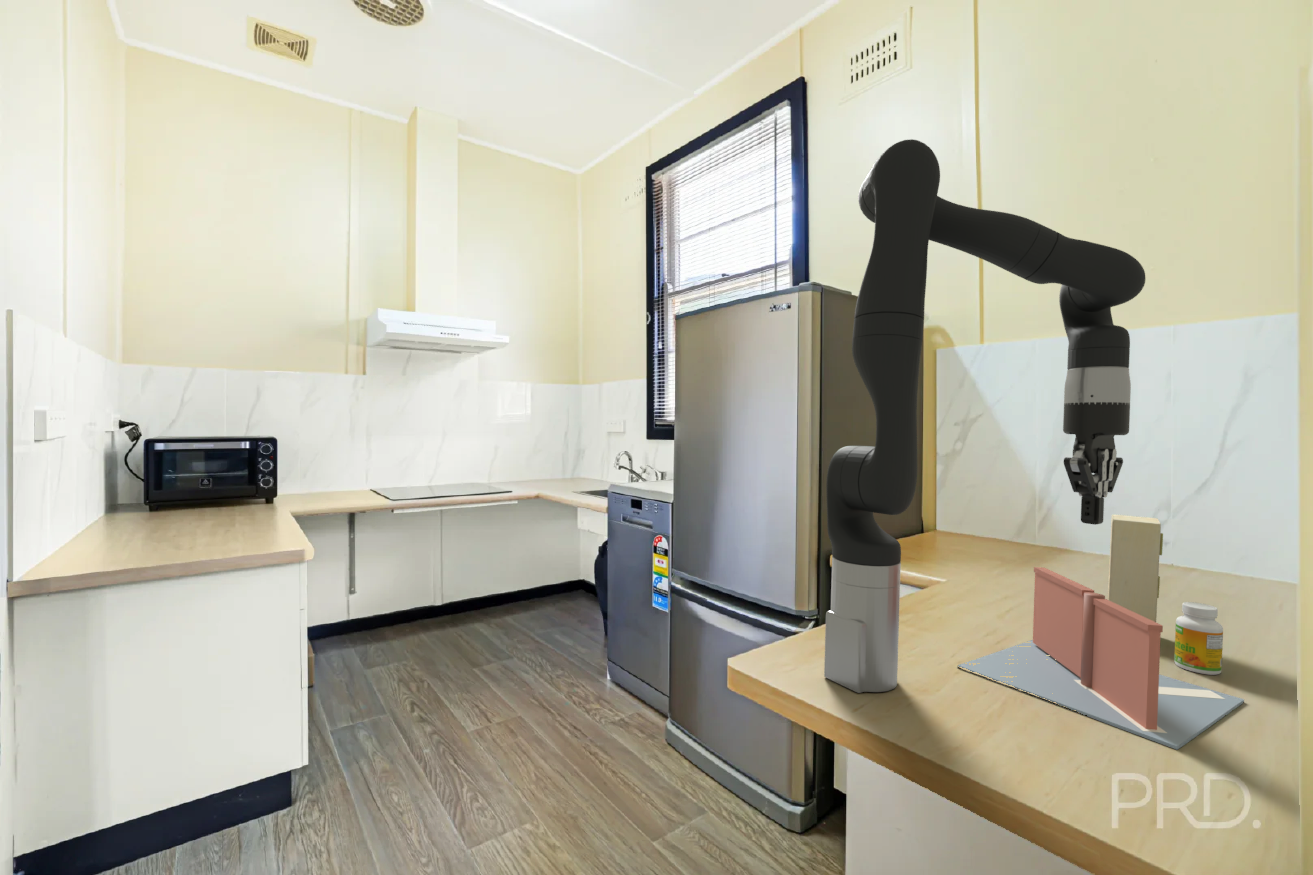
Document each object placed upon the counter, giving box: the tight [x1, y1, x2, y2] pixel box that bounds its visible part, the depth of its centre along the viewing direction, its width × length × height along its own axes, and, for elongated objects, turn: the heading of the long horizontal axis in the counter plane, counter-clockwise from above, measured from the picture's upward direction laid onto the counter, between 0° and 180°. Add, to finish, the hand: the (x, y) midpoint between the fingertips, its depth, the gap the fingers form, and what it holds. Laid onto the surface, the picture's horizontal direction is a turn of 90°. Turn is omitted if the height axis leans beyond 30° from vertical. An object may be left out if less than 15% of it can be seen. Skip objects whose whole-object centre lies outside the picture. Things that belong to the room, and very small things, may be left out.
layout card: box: [957, 639, 1245, 751], centre depth 85 cm, size 24×26×1 cm
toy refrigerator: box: [1107, 514, 1164, 623], centre depth 104 cm, size 8×7×21 cm
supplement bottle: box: [1173, 601, 1224, 676], centre depth 91 cm, size 5×5×10 cm
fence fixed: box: [1081, 592, 1164, 730], centre depth 78 cm, size 14×2×13 cm, turn 172°
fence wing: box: [1032, 566, 1095, 678], centre depth 91 cm, size 14×2×13 cm, turn 172°
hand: (1091, 523), depth 84 cm, fingers closed
